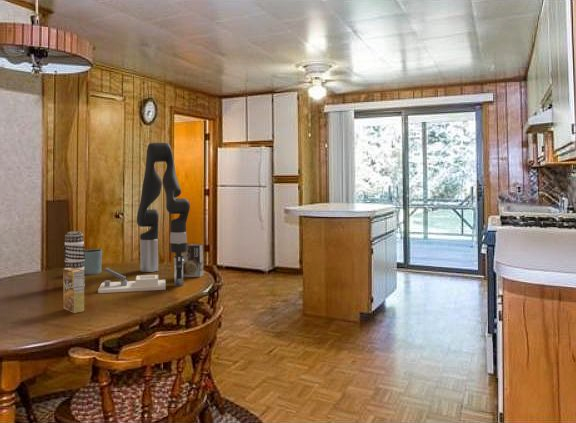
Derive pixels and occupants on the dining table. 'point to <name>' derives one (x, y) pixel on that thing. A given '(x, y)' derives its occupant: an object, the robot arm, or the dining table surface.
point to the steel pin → (176, 281)
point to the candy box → (73, 289)
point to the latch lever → (115, 273)
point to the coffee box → (193, 261)
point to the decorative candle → (74, 250)
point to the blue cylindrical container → (92, 261)
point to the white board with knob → (133, 285)
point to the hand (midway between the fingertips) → (178, 276)
